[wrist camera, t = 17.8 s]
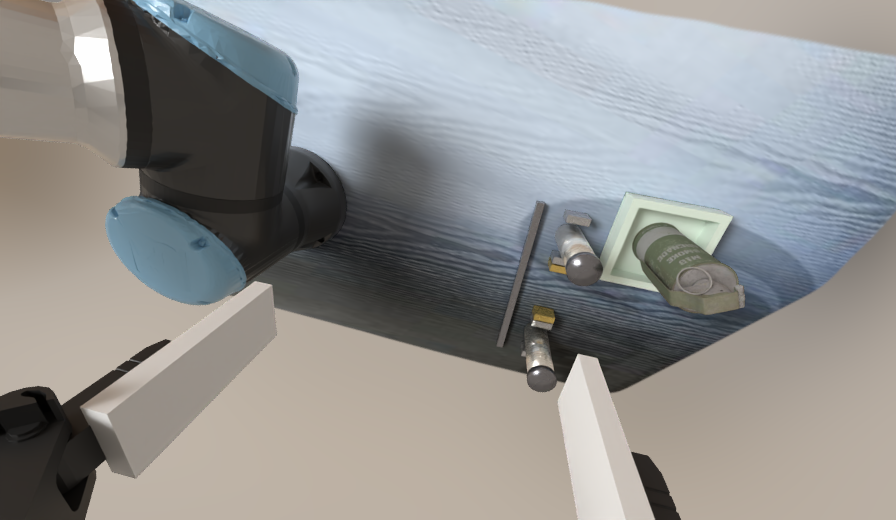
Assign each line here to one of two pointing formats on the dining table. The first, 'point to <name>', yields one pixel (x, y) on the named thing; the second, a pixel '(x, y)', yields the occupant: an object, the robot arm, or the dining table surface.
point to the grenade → (686, 271)
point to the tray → (646, 210)
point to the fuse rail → (580, 271)
